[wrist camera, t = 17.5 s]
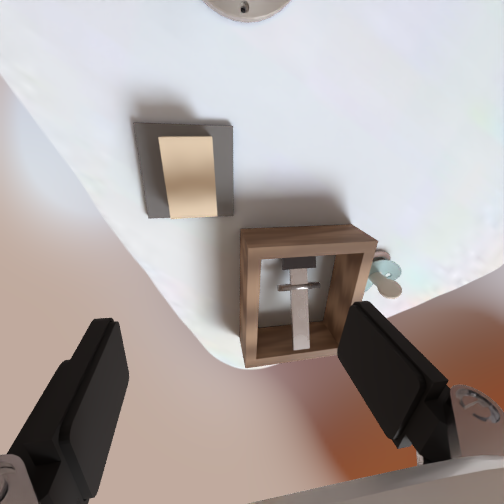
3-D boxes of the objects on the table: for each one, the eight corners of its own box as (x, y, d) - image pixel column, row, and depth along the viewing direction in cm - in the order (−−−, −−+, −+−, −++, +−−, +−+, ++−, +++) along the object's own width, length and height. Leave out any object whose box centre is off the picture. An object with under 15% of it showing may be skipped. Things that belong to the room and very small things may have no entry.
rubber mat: (134, 122, 26) (133, 122, 25) (232, 126, 27) (232, 126, 27) (149, 216, 30) (148, 218, 29) (232, 214, 32) (233, 215, 31)
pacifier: (345, 260, 39) (351, 290, 41) (369, 281, 33) (374, 314, 36) (388, 243, 39) (392, 273, 41) (420, 260, 33) (421, 295, 36)
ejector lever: (275, 245, 35) (277, 245, 34) (315, 242, 36) (319, 243, 35) (280, 349, 36) (282, 353, 35) (319, 344, 37) (322, 347, 36)
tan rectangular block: (162, 136, 26) (158, 137, 23) (210, 135, 27) (212, 136, 24) (173, 210, 30) (170, 219, 27) (215, 208, 30) (217, 216, 28)
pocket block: (240, 228, 33) (248, 248, 27) (351, 224, 36) (378, 240, 30) (239, 337, 41) (245, 368, 36) (329, 326, 44) (347, 353, 39)
